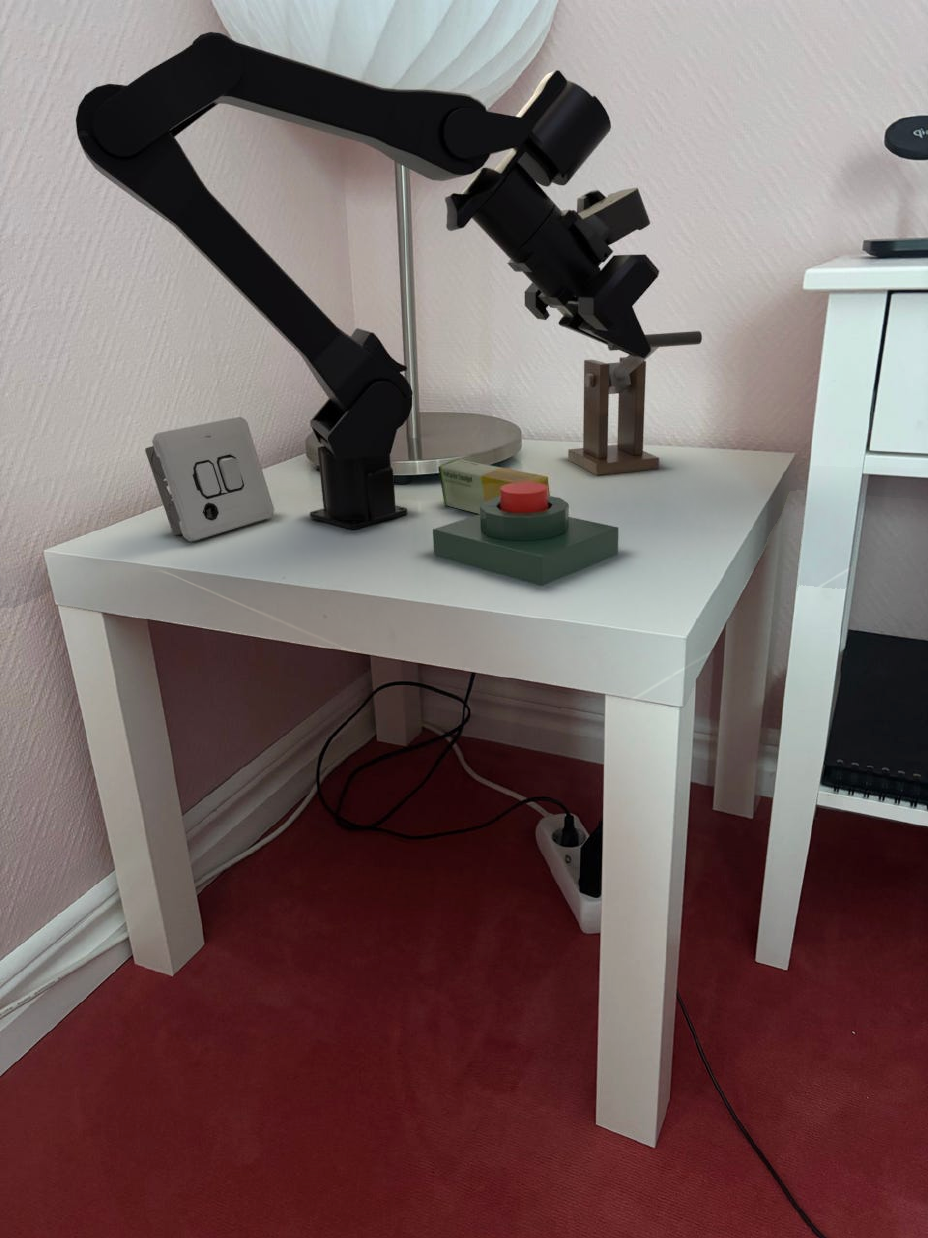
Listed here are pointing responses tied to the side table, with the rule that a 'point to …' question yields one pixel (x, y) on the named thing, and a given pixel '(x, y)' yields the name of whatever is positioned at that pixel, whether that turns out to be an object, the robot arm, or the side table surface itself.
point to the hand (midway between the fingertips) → (643, 353)
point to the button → (524, 497)
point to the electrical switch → (209, 478)
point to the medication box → (478, 483)
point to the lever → (621, 370)
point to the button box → (526, 542)
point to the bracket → (630, 424)
